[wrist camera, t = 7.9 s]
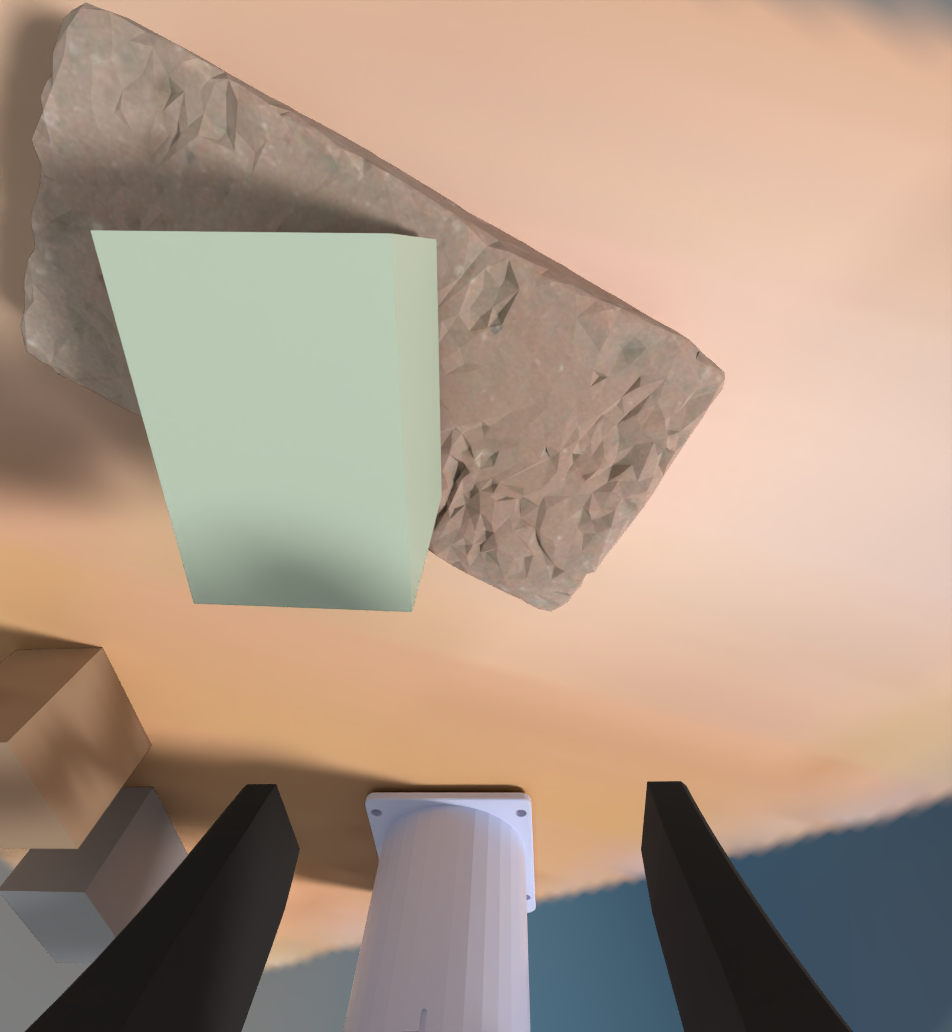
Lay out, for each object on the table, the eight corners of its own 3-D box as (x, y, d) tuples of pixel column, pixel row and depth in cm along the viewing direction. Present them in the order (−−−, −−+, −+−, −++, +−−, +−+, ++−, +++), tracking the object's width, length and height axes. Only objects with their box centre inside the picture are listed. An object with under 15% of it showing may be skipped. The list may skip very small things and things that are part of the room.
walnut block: (152, 743, 26) (77, 848, 21) (75, 744, 26) (-15, 848, 21) (103, 646, 23) (6, 742, 18) (18, 648, 23) (-99, 744, 19)
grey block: (190, 857, 30) (135, 965, 25) (123, 856, 30) (56, 962, 26) (154, 785, 27) (84, 892, 23) (80, 785, 27) (-3, 890, 23)
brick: (109, 335, 17) (-17, 365, 13) (160, 31, 14) (8, -62, 9) (553, 547, 20) (565, 627, 16) (692, 341, 16) (756, 375, 12)
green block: (441, 496, 14) (411, 611, 10) (292, 491, 14) (193, 603, 10) (436, 239, 11) (391, 233, 7) (251, 237, 11) (90, 230, 7)
